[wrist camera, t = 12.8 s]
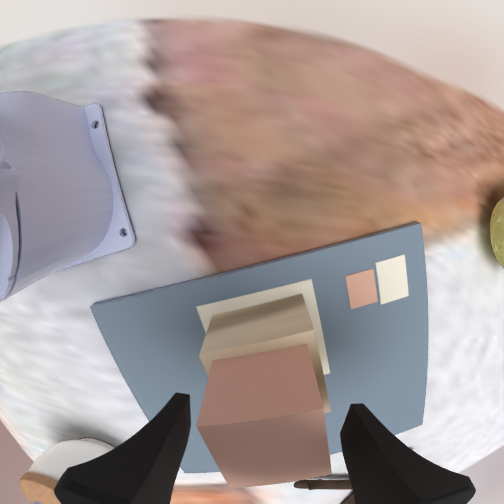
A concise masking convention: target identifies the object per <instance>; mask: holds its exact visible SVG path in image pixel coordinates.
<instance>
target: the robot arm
mask: <svg viewBox="0 0 504 504" xmlns="http://www.w3.org/2000/svg"><path fill="white" fill-rule="evenodd" d="M96 122H99V126H98V127H97V128H95V124H96ZM123 228H124V229H126V231H127V235H126V236H125V235H123V233H122V230H123ZM134 244H135V236H134V233H133V229H132V226H131V223H130V220H129V216H128V213H127V210H126V206H125V203H124V199H123V196H122V192H121V188H120V185H119V181H118V177H117V173H116V170H115V166H114V162H113V158H112V153H111V149H110V145H109V141H108V136H107V132H106V127H105V122H104V117H103V113H102V108H101V106H100V105H99V104H97V103H93V104H90V105H88V106H86V107H85V108H82V107H79V106H76V105H73V104H70V103H67V102H63V101H60V100H57V99H53V98H50V97H47V96H43V95H40V94H36V93H32V92H27V91H14V92H6V93H1V94H0V302H1V301H3V300H5V299H7V298H8V297H10V296H12V295H13V294H15V293H17V292H19V291H20V290H22V289H24V288H26V287H27V286H29V285H31V284H33V283H35V282H36V281H38V280H40V279H42V278H44V277H45V276H47V275H49V274H51V273H53V272H56V271H59V270H62V269H65V268H68V267H71V266H74V265H78V264H81V263H84V262H87V261H90V260H93V259H96V258H99V257H102V256H106V255H109V254H112V253H115V252H118V251H122V250H125V249H128V248H130V247H132V246H133V245H134ZM190 428H191V410H190V394H184V393H177V392H176V393H175V394H174V395H173V396H172V397H171V399H170V400H169V401H168V402H167V403H166V405H165V406H164V407H163V408H162V409H161V410H160V411H159V412H158V413H157V414H156V416H155V417H154V418H153V419H152V420H151V421H150V422H149V423H147V424H146V425H145V426H144V427H143V428H142V429H141V430H140V431H138V432H137V433H136V434H135V435H133V436H132V437H131V438H129V439H128V440H127V441H125V442H124V443H122V444H121V445H119V446H117V447H116V448H114V449H112V450H111V451H109V452H107V453H105V454H103V455H101V456H99V457H97V458H94V459H92V460H90V461H87V462H84V463H81V464H78V465H75V466H72V467H68V468H67V469H66V471H65V472H64V473H63V474H62V476H61V477H60V479H59V481H58V483H57V484H56V486H55V488H54V494H55V496H56V497H57V499H58V500H59V502H60V503H61V504H170V500H171V495H172V490H173V486H174V482H175V479H176V476H177V473H178V470H179V467H180V464H181V462H182V459H183V456H184V453H185V450H186V447H187V444H188V439H189V434H190ZM340 439H341V447H342V452H343V456H344V460H345V463H346V467H347V471H348V474H349V478H350V481H351V485H352V489H353V494H354V501H355V504H467V503H468V501H470V499H471V498H472V497H473V496H474V494H475V492H476V489H475V487H474V485H473V484H472V482H471V480H470V478H469V477H467V476H464V475H461V474H458V473H455V472H452V471H449V470H447V469H445V468H442V467H440V466H438V465H436V464H434V463H432V462H430V461H429V460H427V459H425V458H423V457H422V456H420V455H419V454H417V453H416V452H414V451H413V450H411V449H410V448H409V447H407V446H406V445H405V444H404V443H402V442H401V441H400V440H399V439H398V438H397V437H396V436H394V435H393V434H392V433H391V432H390V431H389V430H388V429H387V428H386V427H385V426H384V425H383V424H382V423H381V422H380V421H379V420H378V419H377V418H376V416H375V415H374V414H373V413H372V412H371V411H370V410H369V409H368V408H367V407H366V406H365V405H364V404H363V403H357V404H351V405H350V408H349V410H348V413H347V416H346V418H345V421H344V424H343V426H342V429H341V431H340ZM33 504H42V503H40V502H38V501H34V503H33Z"/></svg>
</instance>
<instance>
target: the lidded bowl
mask: <svg viewBox="0 0 504 504" xmlns="http://www.w3.org/2000/svg"><path fill="white" fill-rule="evenodd" d="M114 448H116V447H114V446H112V445H110V444H108V443H106V442H103V441H100V440H97V439H93V438H82V439H80V440H67V441H63V442H59V443H57V444H55V445H53V446H51V447H49V448H48V449H47V450H45V451H44V452H43V453H42V454H41V455H40V456H39V457H38V458H37V459H36V460H35V462H34V463H33V464H32V466H31V467H30V468H29V470H28V472H27V473H25V474H24V475H23V477H22V478H21V479H20V481H19V485H20V488H21V490H22V492H23V493H24V495H25V496H26V497H27V498H28V499H29V500H30V502H31V503H32V504H33V503H34V501H38V502H40V503H42V504H61V503H60V502H59V500H58V499H57V497H56V496H55V494H54V488H55V486H56V484H57V483H58V481H59V479H60V477H61V476H62V474H63V473H64V472H65V471H66V469H67V468H68V467H72V466H75V465H78V464H81V463H84V462H87V461H90V460H92V459H94V458H97V457H99V456H101V455H103V454H105V453H107V452H109V451H111V450H112V449H114Z"/></svg>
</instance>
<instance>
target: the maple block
mask: <svg viewBox="0 0 504 504" xmlns="http://www.w3.org/2000/svg"><path fill="white" fill-rule="evenodd" d="M306 343H307V345H308V349H309V353H310V357H311V360H312V364H313V368H314V372H315V376H316V380H317V384H318V388H319V392H320V396H321V400H322V405H323V409H324V414H325V413H329V412H331V409H330V404H329V398H328V393H327V388H326V383H325V378H324V373H323V368H322V364H321V359H320V354H319V349H318V345H317V340H316V336H315V331H314V327H313V324H312V321H311V318H310V315H309V312H308V309H307V306H306V304H305V301H304V298H303V295H302V294H298V295H294V296H290V297H286V298H282V299H279V300H275V301H271V302H267V303H263V304H259V305H254V306H250V307H246V308H242V309H238V310H234V311H229V312H225V313H221V314H216V315H212V318H211V321H210V324H209V327H208V330H207V333H206V336H205V339H204V342H203V345H202V348H201V351H200V354H199V357H200V359H201V361H202V364H203V366H204V368H205V371H206V373H207V375H208V377H209V373H210V369H211V365H212V361H213V360H219V359H226V358H232V357H238V356H244V355H250V354H256V353H261V352H267V351H272V350H277V349H282V348H287V347H292V346H297V345H302V344H306Z"/></svg>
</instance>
